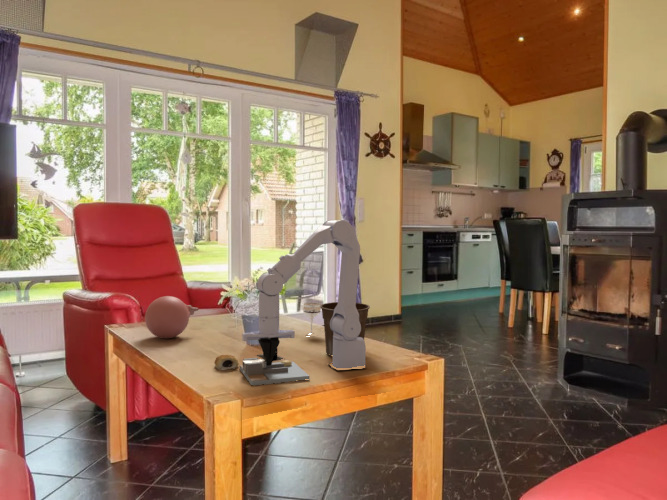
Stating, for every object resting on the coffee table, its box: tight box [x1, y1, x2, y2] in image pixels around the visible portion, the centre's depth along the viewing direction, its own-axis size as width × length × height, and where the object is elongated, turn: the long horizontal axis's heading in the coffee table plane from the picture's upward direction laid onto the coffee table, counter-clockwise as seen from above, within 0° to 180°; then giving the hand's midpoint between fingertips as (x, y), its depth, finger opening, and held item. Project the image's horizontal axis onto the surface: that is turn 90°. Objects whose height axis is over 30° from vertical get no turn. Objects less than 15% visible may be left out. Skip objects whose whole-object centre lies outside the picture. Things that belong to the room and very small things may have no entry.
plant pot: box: [320, 301, 371, 355], centre depth 173 cm, size 16×16×16 cm
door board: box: [239, 357, 310, 386], centre depth 148 cm, size 16×16×4 cm
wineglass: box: [302, 302, 322, 335], centre depth 202 cm, size 7×7×12 cm
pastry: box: [214, 354, 239, 371], centre depth 157 cm, size 9×7×4 cm
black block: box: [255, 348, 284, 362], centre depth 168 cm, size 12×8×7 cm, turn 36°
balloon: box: [144, 295, 199, 339], centre depth 194 cm, size 15×20×15 cm
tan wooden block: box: [242, 358, 266, 373], centre depth 146 cm, size 6×3×3 cm, turn 111°
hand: (268, 364), depth 148 cm, fingers closed
